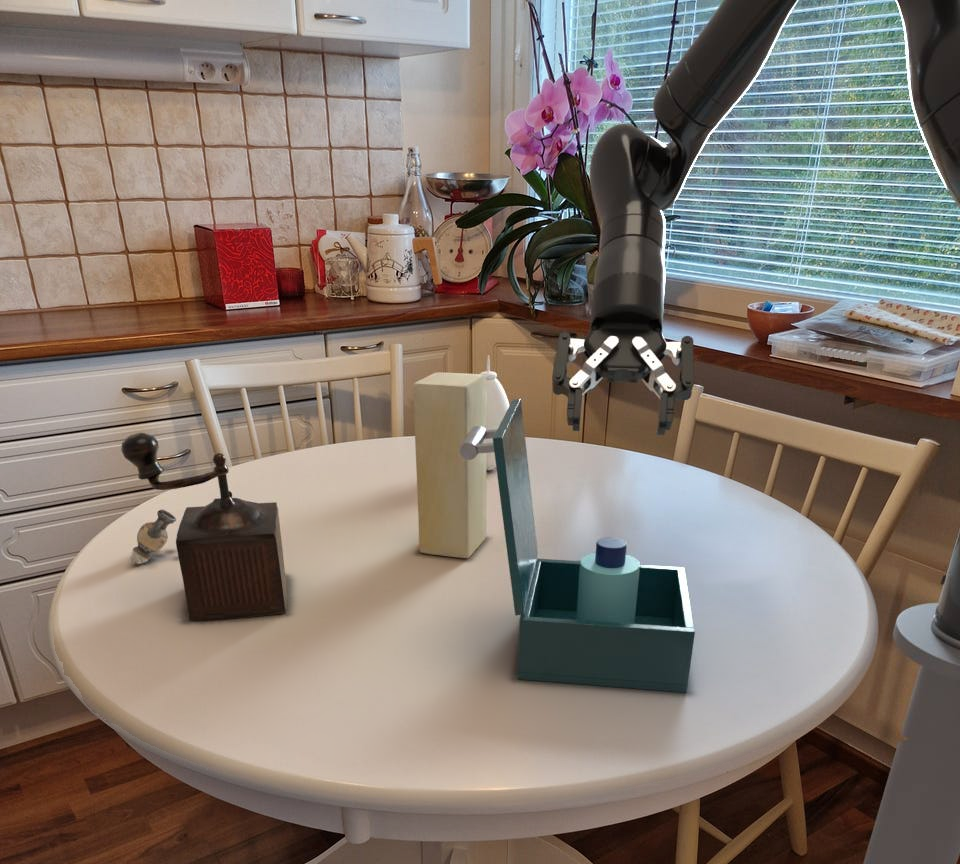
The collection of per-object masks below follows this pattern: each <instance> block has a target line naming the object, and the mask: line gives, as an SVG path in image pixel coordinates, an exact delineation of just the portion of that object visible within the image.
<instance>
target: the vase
mask: <svg viewBox="0 0 960 864" xmlns="http://www.w3.org/2000/svg"><path fill="white" fill-rule="evenodd" d="M130 518H131V516H130ZM176 521H177V518H176V517H175V516H174V515H173V514H172V513H171V512H169V511H167V510H165V509H159V510H158V511H157V519H156V520H155V521H149V522H145V523H144V524H142V525H141V526H140V528H139V529H138V531H137V535H136V543H137V546H135V547H133V548H132V551H131V552H132V553H131V554H130V556H129V557H130V558H131V565H140V564H143V563H147V562H148V561H149V560H150V559H151V553H154V555H155V553H156V552H158V551H160V550H161V549H163V548H164V547H165V545H166V544H167V542H168V540H169V535H168V531H167V528H168V526H169V525H171V524H174V523H175V522H176Z"/></svg>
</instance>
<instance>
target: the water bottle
mask: <svg viewBox="0 0 960 864" xmlns="http://www.w3.org/2000/svg"><path fill="white" fill-rule="evenodd" d="M627 548H628V543H627V541H626V540H625V539H622V538H618V537H612V536H611V537H609V536H607V537H601V538H599V539H597V540H596V543H595V552H590V553H587V554H585V555H583V556H582V557H581V558H580V560H579V561H580V570H579V586H578V601H577V616H576V620H584V621H598V622H613V623H627V624H634V620H635V610H636V600H637V591H638V581H639V571H640V565H641V563H640V561H639V560H638V559H637V558H635V556H632V555H629V554H628V553H627Z"/></svg>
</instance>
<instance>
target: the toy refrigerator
mask: <svg viewBox="0 0 960 864" xmlns="http://www.w3.org/2000/svg"><path fill="white" fill-rule="evenodd" d="M412 393H413V401H412V402H413V424H414V425H413V426H414V427H413V428H414V443H415V447H414V448H415V470H416V491H417V516H418V519H417V520H418V547H419V548H418V549H419V552H420V553H421V554H427V555H434V556H443V557H452V558H461V559H469V558H470V557H471V556H472V555H473V554H474V552H475V551H476V550H477V549H478V548H479V547H480V546H481V545H482V543H483V542H484V541H485V540H486V538H487V470H486V453H481V454H477V456H476V457H475V458H474V459H472V460H466V459H464V458H463V457H462V456H461V455H460V447H461V445H462V444H463V442H464V440H465V439H466V437H467V436H468V434H469V432H470V431H471V429H472V428H473V427H475V426H481V427H483V428H484V429H485V430H486V376H485V375H481V374H480V373H462V372H461V373H460V372H440V371H439V372H438V371H436V372H434V373H431V374H429V375H428V376H425V377H424V378H421V379H419V380H417V381H416V382H414V383H413V385H412ZM483 444H486V439H485V441H484V443H483Z"/></svg>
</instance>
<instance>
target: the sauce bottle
mask: <svg viewBox="0 0 960 864" xmlns="http://www.w3.org/2000/svg"><path fill="white" fill-rule="evenodd" d="M490 361H491V359H490V355H489V354H487V357H486V370H485V371H482V372H480V373H479V374H481V375H485V376H486V430H493V429H498V427H499V425H500V423H501V421H502V420H503V418H504V416H505V414H506V412H507V410H508V408H509V406H510V403H509V399H508V396H507V393H506V392H505V389H504V387H503V385H502V383H501V382H500V381H499V380H498V379H497V378H498V373H496V372H495V371H491V363H490ZM487 443H493V438H492V439H486V444H487ZM494 469H496V461H495V453H494V452H491V453H486V471H492V470H494Z"/></svg>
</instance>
